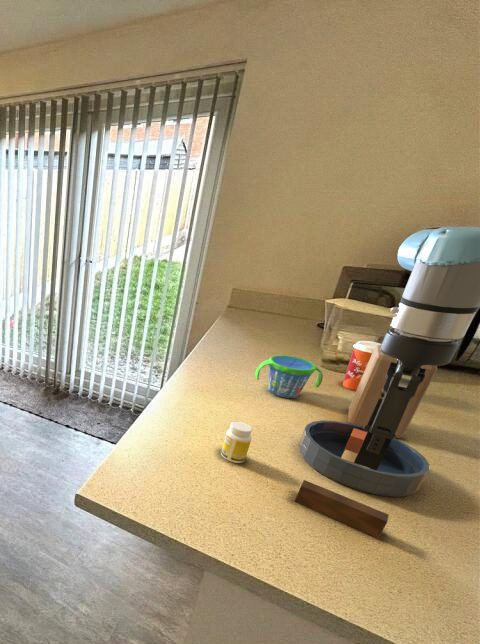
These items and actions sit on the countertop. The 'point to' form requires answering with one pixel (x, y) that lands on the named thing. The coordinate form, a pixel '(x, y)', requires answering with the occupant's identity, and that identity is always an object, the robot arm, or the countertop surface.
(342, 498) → the stick
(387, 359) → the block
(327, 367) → the countertop surface
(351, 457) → the block beech
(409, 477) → the bowl
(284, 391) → the snack cup
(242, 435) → the supplement bottle
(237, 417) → the countertop surface
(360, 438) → the block terracotta
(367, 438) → the robot arm
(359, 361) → the paper cup
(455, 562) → the countertop surface
